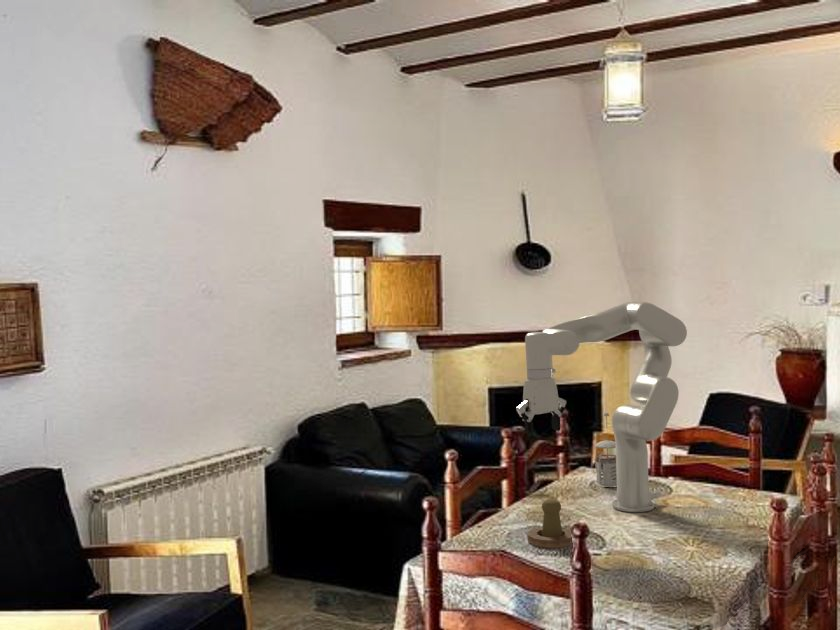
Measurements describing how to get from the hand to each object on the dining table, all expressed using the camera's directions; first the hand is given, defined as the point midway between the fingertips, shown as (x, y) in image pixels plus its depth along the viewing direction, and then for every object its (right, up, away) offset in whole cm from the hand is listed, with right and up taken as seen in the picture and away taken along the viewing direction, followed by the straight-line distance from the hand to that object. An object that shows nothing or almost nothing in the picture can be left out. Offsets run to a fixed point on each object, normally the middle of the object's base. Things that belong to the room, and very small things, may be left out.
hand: (543, 432), depth 241 cm
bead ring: (0, -27, -16) cm, 32 cm away
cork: (0, -27, -16) cm, 32 cm away
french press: (+28, -24, +41) cm, 56 cm away
